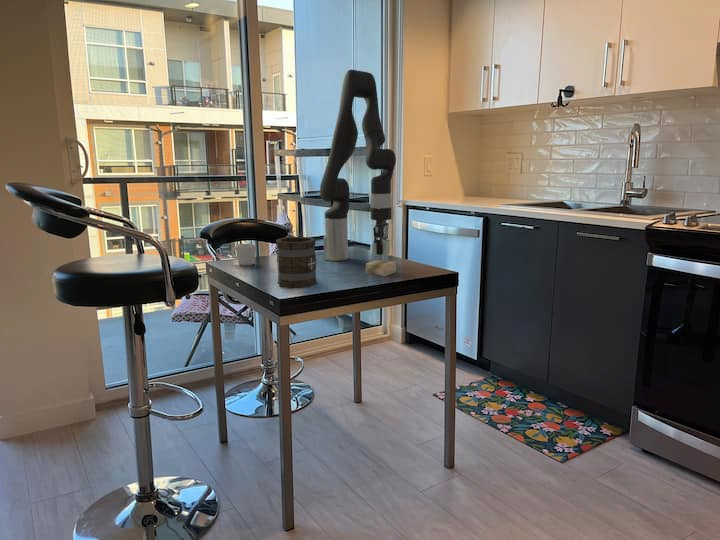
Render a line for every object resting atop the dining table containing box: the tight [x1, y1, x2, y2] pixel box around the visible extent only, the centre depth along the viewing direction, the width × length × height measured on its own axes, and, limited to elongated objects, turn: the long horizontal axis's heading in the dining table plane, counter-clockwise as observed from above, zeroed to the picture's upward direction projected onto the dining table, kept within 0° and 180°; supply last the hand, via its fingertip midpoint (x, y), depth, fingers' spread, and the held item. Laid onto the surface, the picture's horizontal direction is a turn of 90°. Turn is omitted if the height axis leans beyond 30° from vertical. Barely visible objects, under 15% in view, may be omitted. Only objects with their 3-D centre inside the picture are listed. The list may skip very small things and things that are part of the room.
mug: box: [275, 236, 318, 289], centre depth 177 cm, size 20×14×15 cm
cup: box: [230, 243, 257, 267], centre depth 207 cm, size 11×8×8 cm
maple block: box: [365, 259, 397, 277], centre depth 190 cm, size 8×8×4 cm
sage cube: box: [372, 238, 391, 256], centre depth 189 cm, size 5×5×5 cm
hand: (381, 252), depth 189 cm, fingers closed on sage cube, 5 cm apart
